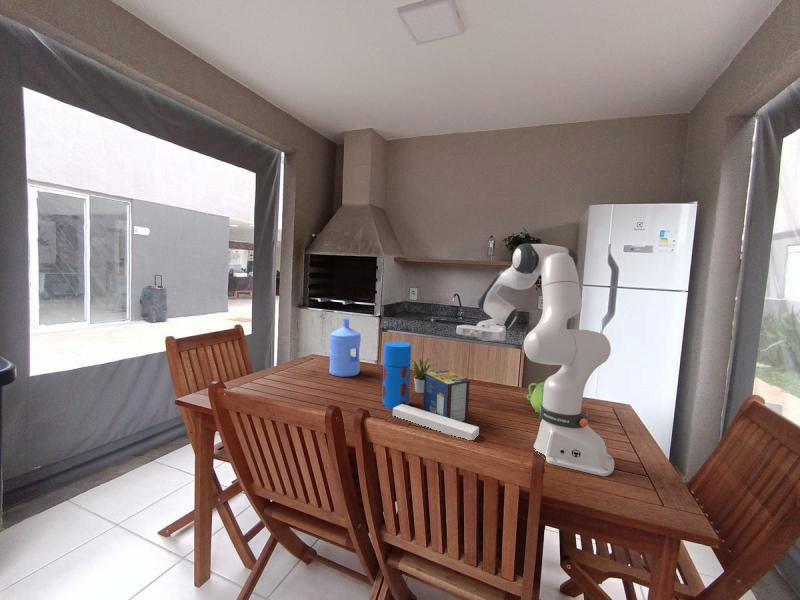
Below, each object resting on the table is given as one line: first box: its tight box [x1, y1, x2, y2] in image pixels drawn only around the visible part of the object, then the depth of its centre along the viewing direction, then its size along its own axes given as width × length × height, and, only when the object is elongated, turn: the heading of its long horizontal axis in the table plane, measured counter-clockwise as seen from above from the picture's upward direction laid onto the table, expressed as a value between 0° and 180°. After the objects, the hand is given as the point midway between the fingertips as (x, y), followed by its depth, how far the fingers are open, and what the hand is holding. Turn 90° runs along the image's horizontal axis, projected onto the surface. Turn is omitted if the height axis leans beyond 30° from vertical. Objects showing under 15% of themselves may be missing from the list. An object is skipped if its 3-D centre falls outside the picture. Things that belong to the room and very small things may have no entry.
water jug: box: [329, 318, 362, 378], centre depth 189 cm, size 16×16×28 cm
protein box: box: [422, 369, 471, 423], centre depth 139 cm, size 10×15×16 cm
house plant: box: [410, 356, 438, 394], centre depth 166 cm, size 14×14×16 cm
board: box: [392, 404, 480, 441], centre depth 131 cm, size 32×6×3 cm, turn 55°
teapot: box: [526, 381, 545, 414], centre depth 147 cm, size 16×14×13 cm
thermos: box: [382, 341, 412, 410], centre depth 148 cm, size 11×11×25 cm
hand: (472, 334), depth 147 cm, fingers closed
